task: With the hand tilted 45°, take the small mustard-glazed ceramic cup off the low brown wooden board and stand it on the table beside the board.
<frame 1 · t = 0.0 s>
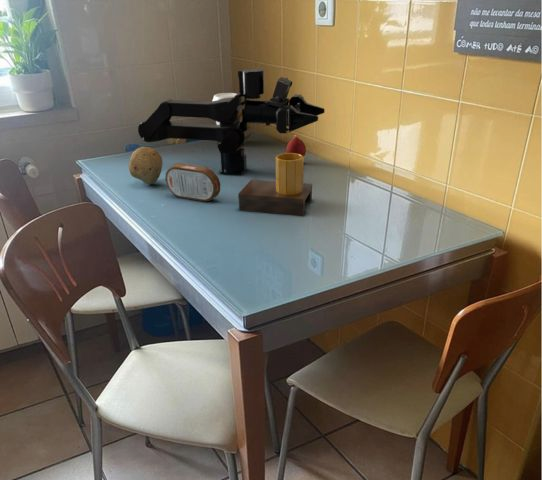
hand: (321, 114, 143), 17 cm above the table, tool horizontal, fingers open, 9 cm apart
tin: (193, 199, 140), on the table
coffee cup: (229, 143, 183), on the table
potato: (148, 185, 150), on the table
onion: (295, 163, 164), on the table
brown wooden board: (276, 205, 135), on the table
cup: (289, 190, 132), point 4 cm above the table, touching brown wooden board
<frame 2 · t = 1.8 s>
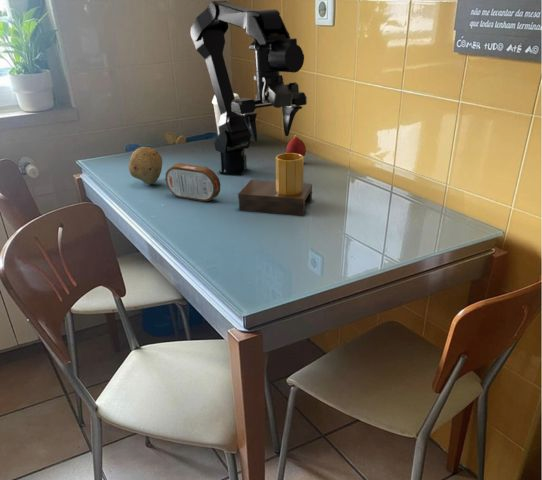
hand: (271, 138, 139), 13 cm above the table, tool pointing down, fingers open, 9 cm apart
nothing on the table moved.
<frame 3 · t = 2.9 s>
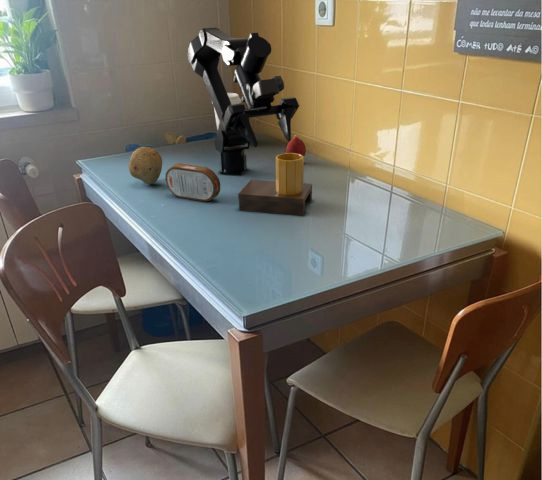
hand: (273, 143, 132), 13 cm above the table, tool tilted 45°, fingers open, 9 cm apart
nothing on the table moved.
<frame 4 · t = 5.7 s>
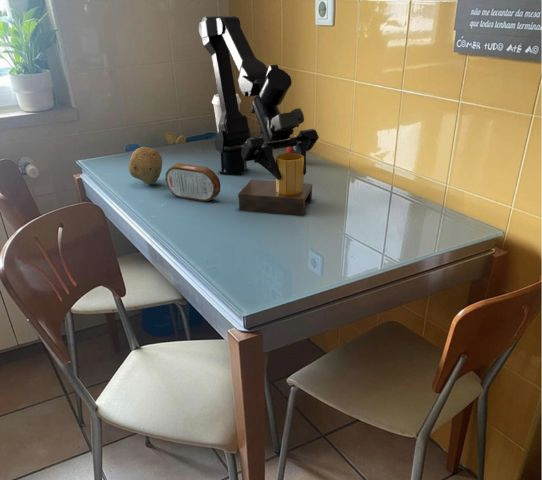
hand: (292, 176, 128), 8 cm above the table, tool tilted 45°, fingers closed on cup, 6 cm apart
cup: (289, 190, 132), point 4 cm above the table, touching gripper, brown wooden board
everything else where it was.
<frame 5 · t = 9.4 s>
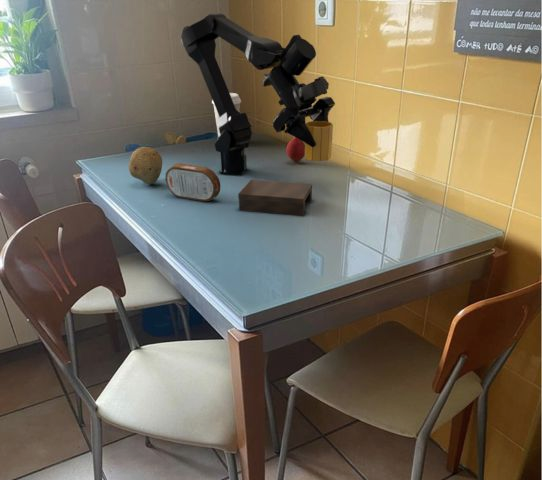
hand: (322, 143, 133), 13 cm above the table, tool tilted 45°, fingers closed on cup, 6 cm apart
cup: (317, 157, 136), point 9 cm above the table, touching gripper
everything else where it was.
when the fingers open (4 cm above the table, at t = 13.0 s): cup stays where it is, on the table.
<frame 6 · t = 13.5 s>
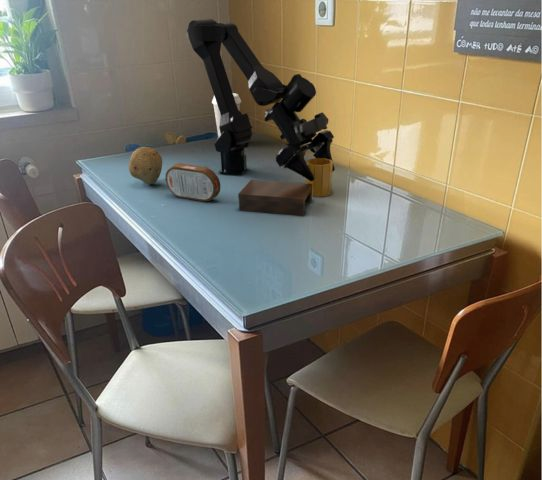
hand: (323, 175, 139), 5 cm above the table, tool tilted 45°, fingers open, 9 cm apart
cup: (318, 192, 142), on the table
everything else where it was.
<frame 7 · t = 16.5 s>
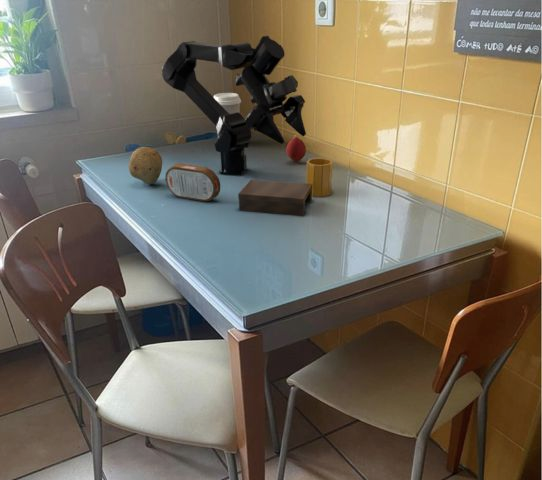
hand: (294, 139, 139), 12 cm above the table, tool tilted 45°, fingers open, 9 cm apart
nothing on the table moved.
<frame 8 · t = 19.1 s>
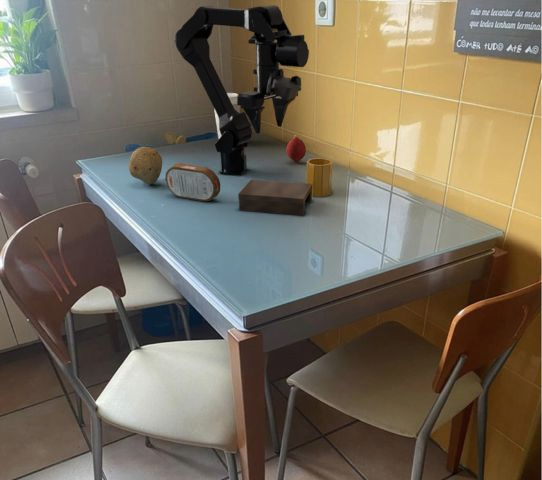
hand: (268, 129, 145), 13 cm above the table, tool pointing down, fingers open, 9 cm apart
nothing on the table moved.
at the end: cup touching table; cup inside the target area (0.1 cm from its centre), on the table; cup tilted 0° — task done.
